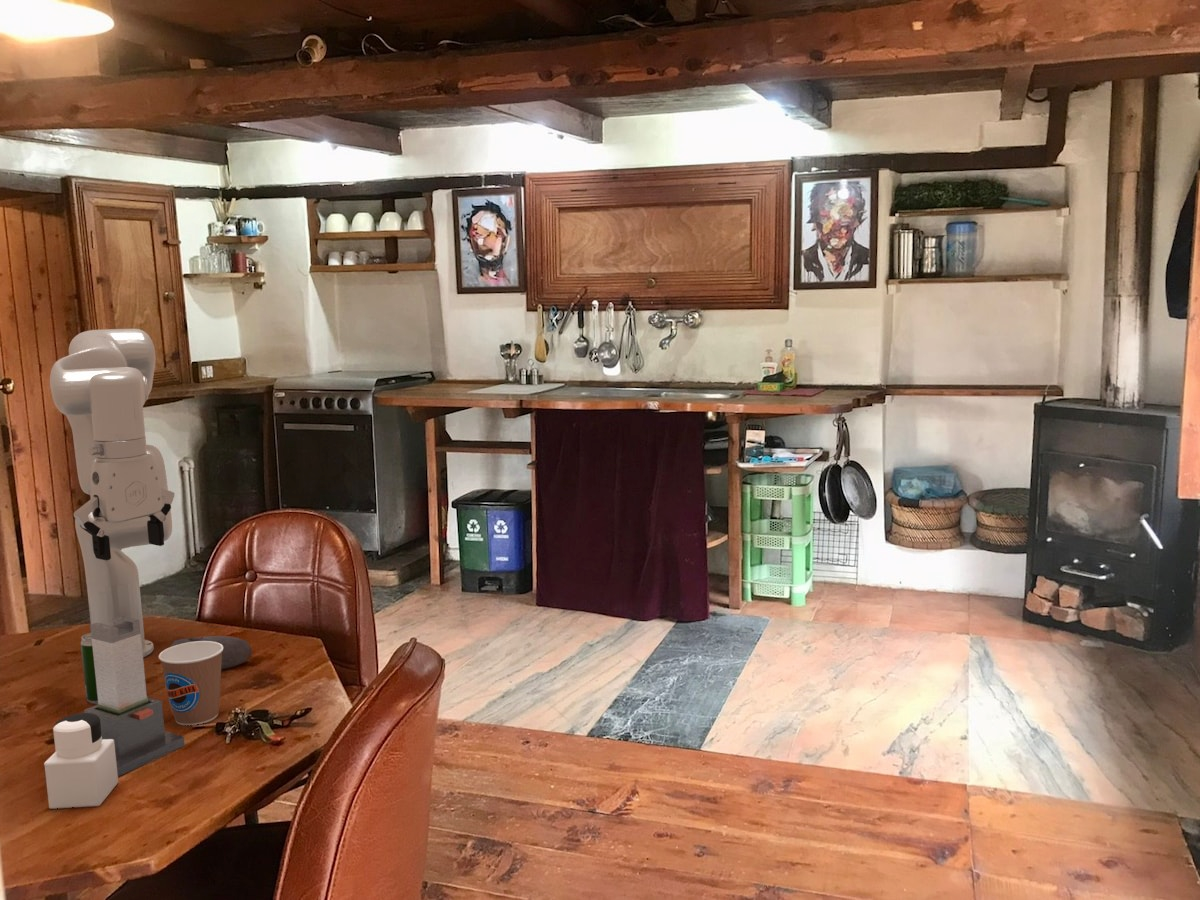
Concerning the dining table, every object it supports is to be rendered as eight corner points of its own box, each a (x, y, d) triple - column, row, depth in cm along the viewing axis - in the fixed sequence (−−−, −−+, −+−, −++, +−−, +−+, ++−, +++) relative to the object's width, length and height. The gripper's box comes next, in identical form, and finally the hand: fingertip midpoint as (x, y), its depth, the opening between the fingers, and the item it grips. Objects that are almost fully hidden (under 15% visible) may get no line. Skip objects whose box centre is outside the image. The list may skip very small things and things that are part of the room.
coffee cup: (151, 725, 171) (144, 658, 169) (194, 702, 181) (188, 638, 179) (199, 733, 168) (193, 664, 166) (241, 709, 177) (236, 644, 175)
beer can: (88, 707, 179) (81, 642, 178) (84, 697, 184) (78, 634, 182) (121, 700, 182) (115, 636, 180) (117, 690, 187) (110, 628, 185)
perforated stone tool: (252, 659, 202) (249, 626, 200) (253, 668, 197) (251, 634, 196) (170, 672, 196) (167, 637, 195) (170, 681, 191) (167, 646, 190)
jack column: (98, 717, 159) (89, 624, 157) (128, 705, 163) (119, 615, 161) (119, 723, 156) (110, 629, 154) (149, 711, 161) (140, 620, 159)
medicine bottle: (69, 785, 150) (61, 709, 149) (119, 782, 151) (111, 706, 149) (48, 810, 143) (38, 730, 142) (100, 806, 144) (91, 727, 142)
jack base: (69, 760, 159) (64, 712, 158) (137, 731, 169) (132, 685, 168) (117, 777, 153) (112, 727, 152) (184, 745, 163) (180, 698, 162)
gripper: (84, 460, 154) (95, 568, 157) (182, 443, 168) (190, 542, 171) (55, 455, 157) (66, 561, 160) (153, 439, 172) (162, 536, 175)
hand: (130, 551), depth 166 cm, fingers open, 9 cm apart
